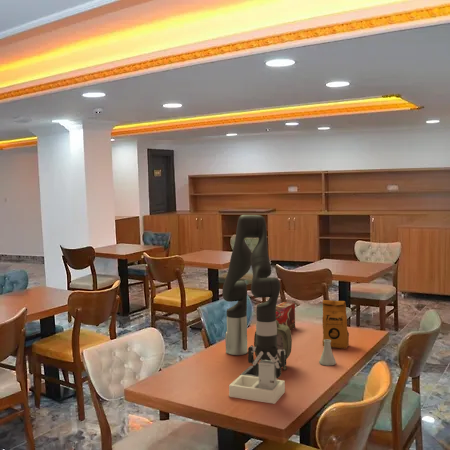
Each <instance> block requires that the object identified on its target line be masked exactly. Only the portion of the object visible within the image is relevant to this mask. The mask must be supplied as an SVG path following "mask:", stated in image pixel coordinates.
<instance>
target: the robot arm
mask: <svg viewBox="0 0 450 450" xmlns="http://www.w3.org/2000/svg"><path fill="white" fill-rule="evenodd" d="M236 224H237V225H236V230H235V231H236V232H235V237H234V245H233V247H232V252H231V255H230V260H229V265H228V270H227V274H226V277H225V279H224V282H223V286H222V290H221V291H222V292H221V295H222V299H223V300H224V302H236V303H235V304H234V305H233V306H230V307H229V308H227V310H226V312H225V313H226V332H225V333H224V334H225V338H224V339H225V354H229V355H232V356H243V355H246V354H247V362H248V363H249V364H252V366H253V372H254V373H255V375H258V374H259V362H260V361H261V360H260V359H262V360H268V361H270V360H271V361H272V362H273V363H274V364H275V366H276V367H277V368H276V378H277V379H279V378H280V377H281V376H282V368H283V367H284V366H286V365H287V360H286V350H285V349H283V350H278V348H277V324H276V305H278V304H277V302H278V298H279V296H280V292H281V283H280V280H279V279H278V278H277V277H275V276H273V277H272V276H271V274H272V266H271V261H270V257H269V251H268V250H269V249H268V247H269V246H268V235H267V233H268V232H267V222H266V219H265V217H264V216H263V215H259V214H242V215H240V216H239V217H238V220H237V223H236ZM247 238H248V239H249V238H250V239H251V238H252V239H258V242H257V244H256V246H255V247H254V248H253V250H251V249H250V247H249V245H248V244H247V242H246V241H245V239H247ZM250 269H251V270H252V278H251V284H250V292H251V294H252V296H253V297H255V298H258V299H260V298H261V299H263V298H268V300H266V301H264V302H261V303H258V304H257V305H256V307H255V309H256V312H255V313H256V322H255V323H256V324H255V332H256V344H257V346H256V347H254V344H253V345H250V346H249V347H248V321H247V320H248V319H247V318H248V317H247V315H248V314H247V311H248V309H247V308H248V306H247V305H248V286H247V283H246V281H245V280H241V279H242V278H243V277H245V276H246V274H247V273H248V272H249V271H250ZM270 276H271V277H270ZM255 350H256V352H257V354H258V356H257V357H255V359H254V356H255V355H254V354H255ZM277 353H279V355H280V356H281V362H280V361H279V358H278V357H277Z"/></svg>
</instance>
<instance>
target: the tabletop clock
mask: <svg viewBox="0 0 450 450" xmlns="http://www.w3.org/2000/svg"><path fill="white" fill-rule="evenodd" d="M276 311H278V312H279V313H280V311H279V310H277V309H276ZM280 316H281V313H280ZM280 316H278V317H276V319H277V318H279V317H280ZM276 324H277V348H278V350H283V349H285V350H286V361H287V360H288V358H289V357H290V355H291V353H292V347H293V346H292V345H293V344H292V343H293V340H292V330H290V328H289V327H288V326H286V325H281V324H279V322H278V321H277V320H276ZM253 336H254V337H253V340H254V341H253V346H254V347H256V346H257V344H256V331H255V332H254V335H253ZM254 354H255V355H254V356H256V357H257V356H258V354H257V352H256V350H255V352H254ZM256 357H255V358H256ZM277 357H278V358H279V361H280V362H281V356H280V355H279V353H277ZM259 361H261V359H260V360H259ZM282 369H283V370H284V371H286V370H287V369H288V368H287V366H286V365H285V366H284V367H282Z"/></svg>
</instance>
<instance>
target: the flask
mask: <svg viewBox="0 0 450 450" xmlns="http://www.w3.org/2000/svg"><path fill="white" fill-rule="evenodd" d="M330 343H331V340H328V339H326V340H324V346H323V349H322V350H323V351H322V353H321V356H320V358H319V360H318V363H319V364H320V365H322V366H327V367H328V366H335V365H336V364H337V361H336V358H335V355H334V353H333V350H332V347H331V344H330Z"/></svg>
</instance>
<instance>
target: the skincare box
mask: <svg viewBox="0 0 450 450" xmlns="http://www.w3.org/2000/svg"><path fill="white" fill-rule="evenodd" d="M258 364H259V388H260V389H267V390H273V389H274V388H275V387H276V386H277V380H278V378H276V368H277V367H276V366H275V364H274V363H273V362H272V361H271V360H270V361H268V360H262V359H261V360H259V362H258Z"/></svg>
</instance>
